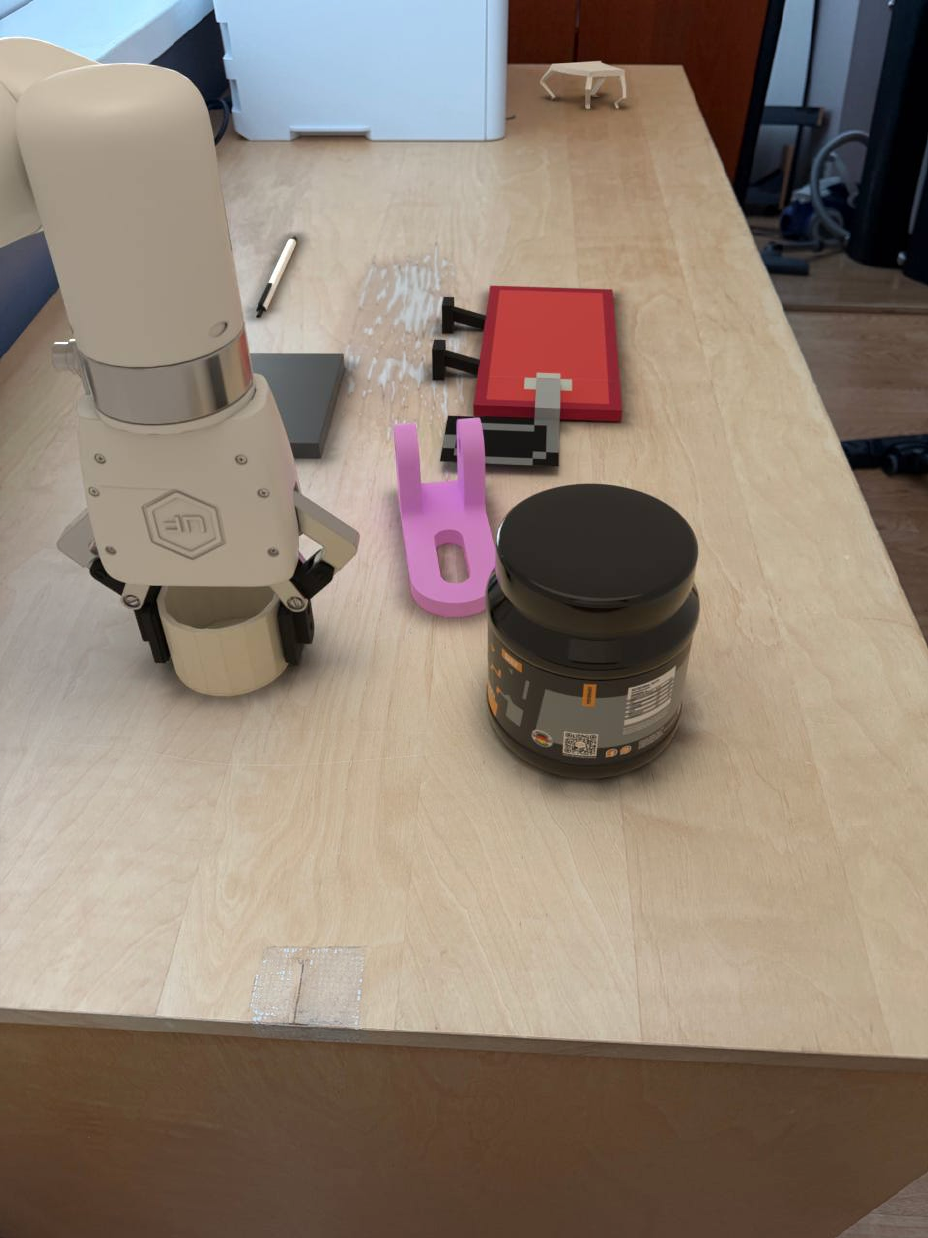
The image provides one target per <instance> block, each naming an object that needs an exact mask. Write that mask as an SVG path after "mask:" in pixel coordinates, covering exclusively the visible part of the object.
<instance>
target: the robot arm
mask: <svg viewBox="0 0 928 1238" xmlns="http://www.w3.org/2000/svg"><path fill="white" fill-rule="evenodd" d="M213 132H214V131H213V126H212V122H211V118H210V114H209V109H208V107H207V104H206V102H205V99H204V96H203V95H202V93H201V91H200V90H199V88H198V87H197V86H196V85H195V84H194V83H193V82H192V80H190V79H189V78H188V77H186V76H185V75H183V74H182V73H180V72H179V71H177V70H174V69H170V68H167V67H164V66H160V65H154V64H148V63H133V62H132V63H131V62H125V63H123V62H119V63H118V62H117V63H101V62H98V61H97V60H94V59H91V58H89V57H87V56H84V55H81V54H79V53H77V52H74V51H72V50H70V49H67V48H65V47H63V46H61V45H57V44H54V43H51V42H49V41H47V40H43V39H39V38H32V37H27V36H25V37H24V36H7V37H5V36H4V37H0V249H1V248H3V247H4V248H5V247H6V246H9V245H10V244H12V243H15V242H16V241H19V240H21V239H23V238H26V237H29V236H33V235H36V234H39V233H41V232H44V236H45V237H44V238H45V241H46V244H47V247H48V250H49V255H50V257H51V261H52V264H53V268H54V271H55V275H56V280H57V282H58V286H59V290H60V293H61V297H62V300H63V304H64V308H65V312H66V315H67V319H68V322H69V325H70V328H71V333H72V335H73V338H72V339H70V340H68V341H67V342H66V341H63V342H62V341H61V342H59V341H58V342H54V343H53V344H52V347H51V355H50V356H51V362H52V363H51V364H52V365H53V368H54V369H55V370H56V371H57V372H61V373H63V372H64V373H65V372H66V373H67V372H70V373H71V374H72V375H78V376H79V377H80V379H81V383H82V386H83V389H84V394H83V395H82V396H81V397H80V398H79V400H78V402H77V404H76V405H75V406H76V407H75V418H76V436H77V438H76V439H77V447H78V455H79V463H80V470H81V478H82V484H83V492H84V496H85V497H84V498H85V502H86V508H85V509H84V510H83V511H82V512H81V513H80V514H79V515H77V516H76V517H75V518H74V519H73V520H72V521H70V523H68V524H67V525H66V526H65V527H64V529H63V530H62V533H61V534H60V536H59V538H58V540H57V541H56V547H57V549H58V551H60V552H61V553H62V554H64V555H65V556H66V557H68V558H69V559H71V560H72V561H73V562H75V563H76V564H77V565H78V566H81V567H82V568H83V569H84V568H86V569H88V572H89V575H90V576H91V577H92V579H94V580H95V581H96V582H99V583H100V584H101V585H103V586H105V587H106V588H108V589H110V590H111V591H113V592H114V593H116V594H118V595H119V596H120V602H121V604H122V606H123V607H124V608H126V609H129V610H131V611H132V610H133V612H134V616H135V620H136V622H137V626H138V629H139V632H140V636H141V639H142V642H144V643H147V642H148V645H149V648H150V652H151V654H152V658H153V662H154V663H155V664H166V663H167V662H169V661H170V659H171V658H172V657H171V654H170V650H169V646H168V643H167V639H166V636H165V632H164V629H163V625H162V621H161V618H160V614H159V610H158V605H157V597H158V595H159V592H160V590H161V587H162V586H216V587H262V586H269V587H270V588H271V589H272V590H273V592H274V593H275V594H276V595H277V596H278V598H279V599H280V600H281V603H280V605H279V609H278V613H277V618H278V624H279V630H280V635H281V640H282V646H283V651H284V657H285V662H286V663H289V664H288V665H289V666H299V665H300V662H301V659H302V654H303V649H304V646H305V645H312V644H313V641H314V637H315V620H314V619H315V618H314V612H313V606H312V598H314V597H315V596H316V595H318V593H320V592H321V591H322V590H323V589H324V588H326V587H327V586H328V585H329V584H330V583H331V582H332V581H333V579H334V576H335V575H336V574H337V573H338V572H340V571H341V570H343V569H344V567H345V566H346V565H347V564H348V563H349V562H350V561H351V560H352V559H353V558H355V556H356V555H357V554H358V549H359V544H360V541H361V534H360V533H359V531H358V530H356V529H355V528H353V527H352V526H350V525H349V524H348V523H345V522H344V521H342V520H341V519H340V518H338V517H337V516H335V515H334V514H332V513H331V512H329V511H328V510H326V509H325V508H323V507H321V506H320V505H319V504H317V503H316V502H314V501H312V500H311V499H309V498H308V497H306V496H305V495H304V494H303V491H302V487H301V483H300V479H299V474H298V471H297V467H296V461H295V458H293V454H292V450H291V447H290V443H289V440H288V437H287V433H286V430H285V427H284V424H283V421H282V418H281V416H280V413H279V410H278V407H277V405H276V402H275V400H274V397H273V395H272V392H271V390H270V388H269V386H268V383H267V381H266V379H265V378H264V377H263V376H262V375H260V374H255V373H253V369H252V363H251V357H250V353H251V351H250V346H249V339H248V335H247V328H246V321H245V318H244V311H243V306H242V305H243V304H242V300H241V292H240V288H239V282H238V281H239V280H238V276H237V268H236V262H235V258H234V250H233V246H232V240H231V239H232V238H231V234H230V233H231V232H230V228H229V222H228V216H227V215H228V214H227V210H226V204H225V197H224V191H223V186H222V180H221V173H220V169H219V162H218V155H217V149H216V144H215V139H214V133H213ZM302 535H304V536H306V537H307V538H309V539H311V540H312V541H313V542H315V543H317V544H318V545H320V546H321V547H322V548H319V549H318V550H317V551H316V552H315V553H313V554H312V555H311V556H310V557H309V558H308V559H306V558H305V557H304V555H303V554H302V553H301V552H300V537H302Z"/></svg>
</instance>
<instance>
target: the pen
mask: <svg viewBox="0 0 928 1238" xmlns="http://www.w3.org/2000/svg"><path fill="white" fill-rule="evenodd" d="M296 246H297V237H296V235H294V236H292V237H291V238H290V239H289V238H288V241H287V242H286V245H285V247H284V248H283V251H282V253H281V255H280V258H279V260H278V262H277V263H276V265H275V268H274V270H273V272H272V275H271V276H270V279H269V281H268V282H267V284H266V286H265V288H264V290H263V292H262V294H261V297H260V298H259V300H258V303H257V306H256V308H255V309H256V310H255V312H257V313H256V315H255V318H257V319H259V318H261V317H262V315H263V313H265V312H267V310H268V307H269V305H270V304H271V302H272V301H271V300H272V298H273V297H274V295H275V292H276V290H277V287H278V285H279V283H280V281H281V279H282V276H283V275H284V272H285V270H286V268H287V265H288V263H289V261H290V259H291V256H292V255H293V252H294V250H295V247H296Z"/></svg>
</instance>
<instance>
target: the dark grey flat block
mask: <svg viewBox="0 0 928 1238" xmlns="http://www.w3.org/2000/svg"><path fill="white" fill-rule="evenodd" d="M250 357H251V363H252V369H253V373H255V374H260V375H262V376H263V377H264V378H265V379H266V381H267V383H268V386H269V388H270V390H271V392H272V395H273V397H274V400H275V402H276V405H277V407H278V410H279V413H280V416H281V418H282V421H283V424H284V427H285V430H286V433H287V437H288V440H289V443H290V447H291V450H292V454H293V458H294V460H295V459H301V460H303V459H307V460H309V459H312V460H313V459H317V460H318V459H319V460H320V459H322V456H323V452H324V448H325V445H326V441H327V438H328V434H329V429H330V426H331V422H332V418H333V415H334V411H335V407H336V404H337V400H338V396H339V393H340V392H339V391H340V388H341V386H342V385H341V384H342V381H343V378H344V373H345V370H346V365H345V363H346V362H345V354H344V353H341V352H340V353H330V352H329V353H328V352H327V353H325V352H323V353H316V352H315V353H312V352H311V353H307V352H305V353H299V352H296V353H295V352H294V353H293V352H292V353H289V352H288V353H287V352H284V353H283V352H279V353H277V352H274V353H273V352H265V353H264V352H250Z"/></svg>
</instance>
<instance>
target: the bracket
mask: <svg viewBox="0 0 928 1238" xmlns="http://www.w3.org/2000/svg"><path fill="white" fill-rule="evenodd" d="M417 430H418V429H417V423H416V422H407V423H396V424H395V423H394V424H393V444H394V458H395V469H396V470H395V471H396V485H397V497H398V505H399V512H400V513H399V515H400V520H401V528H402V536H403V541H404V550H405V557H406V564H407V570H408V571H407V572H408V578H409V585H410V593H411V596H412V599H413V600H414V602H415V603H416V604H417V605H418V606H419V607H420V608H421V609H422V610H424V611H426V612H428V613H430V614H433V615H436V616H439V617H445V618H466V617H470V616H475V615H477V614H480V613H482V612H484V611H486V610H485V590H486V585H487V581H488V579H489V576H490V574H491V572H492V570H493V569H494V567H495V541H494V538H493V535H492V534H493V533H492V530H491V526H490V522H489V518H488V514H487V507H486V463H485V447H484V436H483V429H482V424H481V420H480V418H467V419H457V462H456V463H457V465H456V466H457V479H456V480H447V481H445V480H444V481H435V482H434V481H431V482H423V483H422V477H421V476H422V475H421V458H420V446H419V439H418V431H417ZM446 544H454V545H457V546H459V547H460V548H461V549H462V551H463V557H464V560H465V566H466V571H467V575H468V578H467V579H465V580H464V581H461V582H449V581H446V580H444V578H442V575H441V570H440V564H439V559H438V553H437V548H439V547H440V546H442V545H446Z"/></svg>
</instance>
